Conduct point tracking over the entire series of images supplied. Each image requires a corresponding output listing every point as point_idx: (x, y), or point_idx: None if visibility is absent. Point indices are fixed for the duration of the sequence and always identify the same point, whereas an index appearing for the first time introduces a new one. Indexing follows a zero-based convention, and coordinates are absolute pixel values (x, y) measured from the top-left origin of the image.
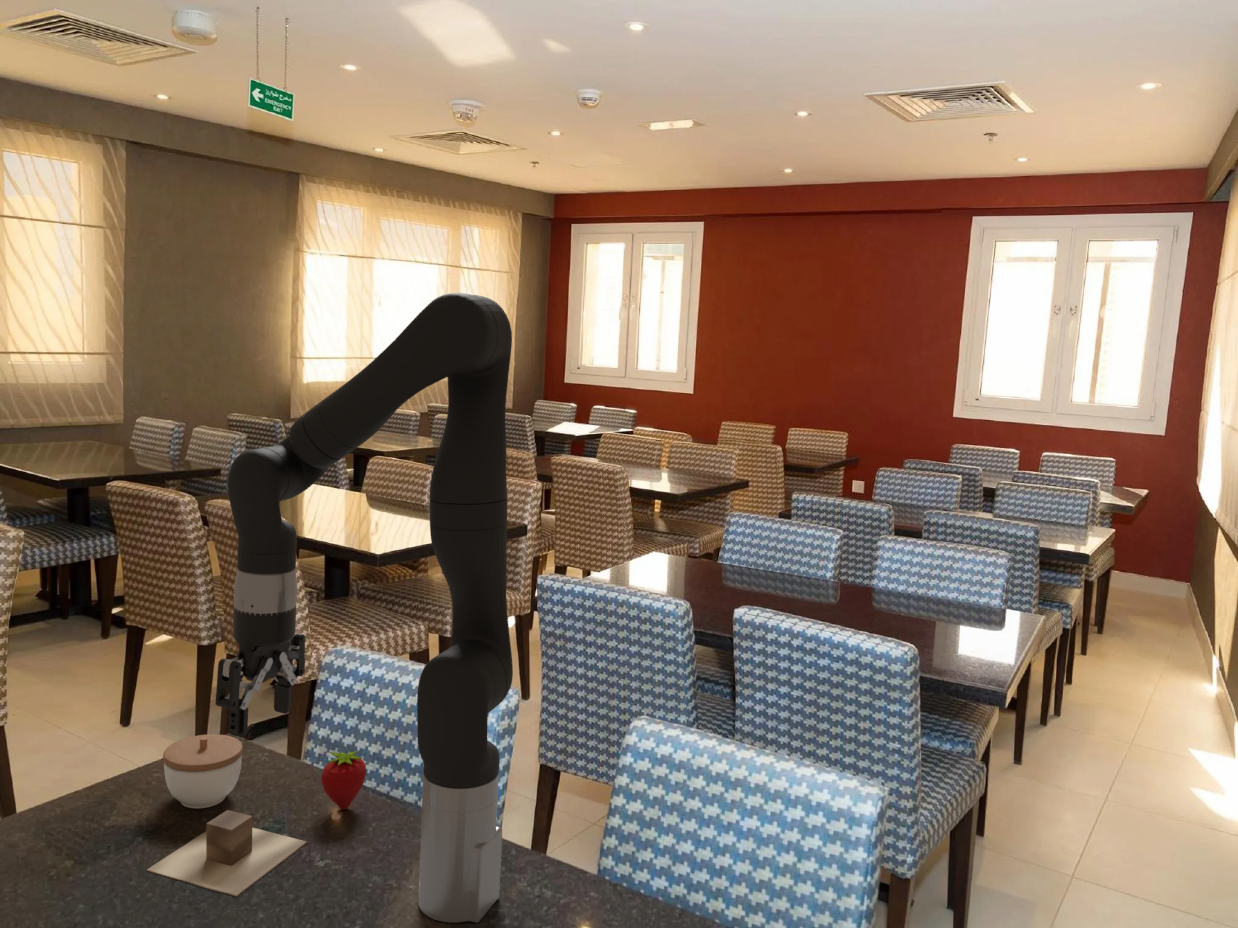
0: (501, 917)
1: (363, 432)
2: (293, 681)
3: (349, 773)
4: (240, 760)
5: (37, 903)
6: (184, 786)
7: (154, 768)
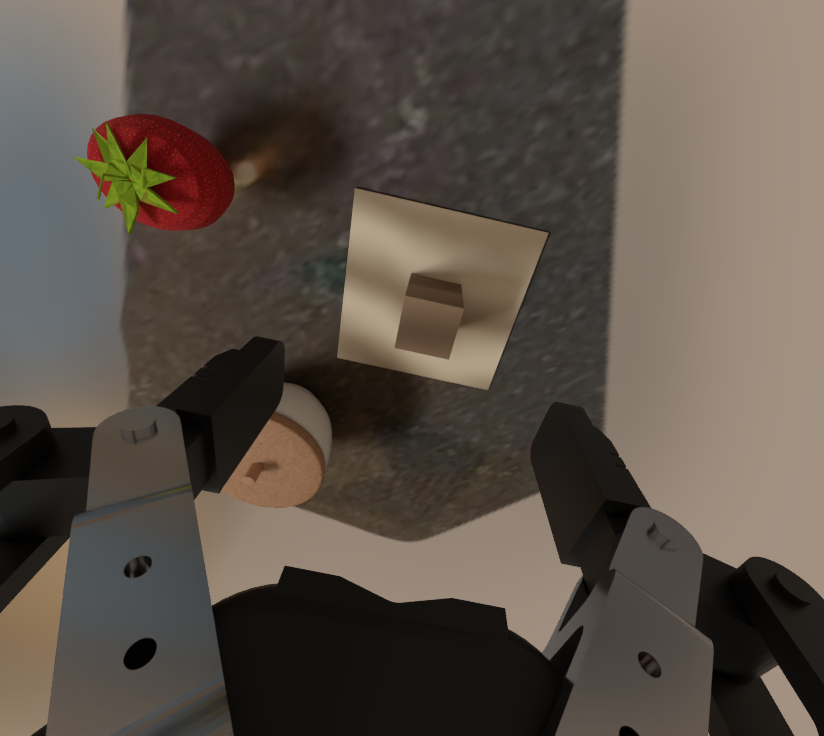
0: None
1: None
2: (150, 421)
3: (174, 141)
4: None
5: None
6: (330, 439)
7: None
